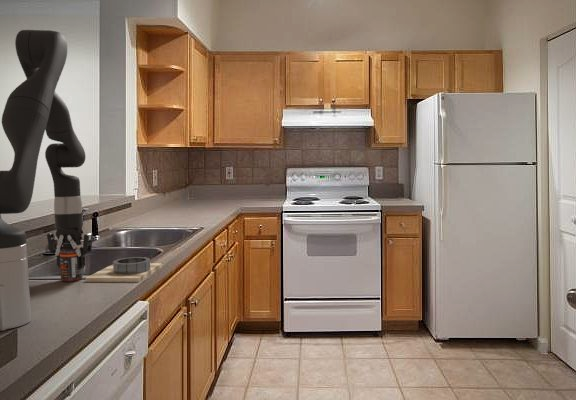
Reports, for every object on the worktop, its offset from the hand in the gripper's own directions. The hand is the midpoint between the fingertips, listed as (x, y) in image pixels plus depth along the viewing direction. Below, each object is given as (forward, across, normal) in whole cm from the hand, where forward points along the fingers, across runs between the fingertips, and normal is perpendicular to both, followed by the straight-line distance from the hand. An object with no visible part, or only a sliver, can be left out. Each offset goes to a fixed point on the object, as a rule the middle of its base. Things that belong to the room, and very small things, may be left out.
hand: (71, 267), depth 148 cm
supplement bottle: (+4, 0, 0) cm, 4 cm away
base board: (+4, +12, +10) cm, 16 cm away
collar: (+2, +14, +10) cm, 17 cm away
